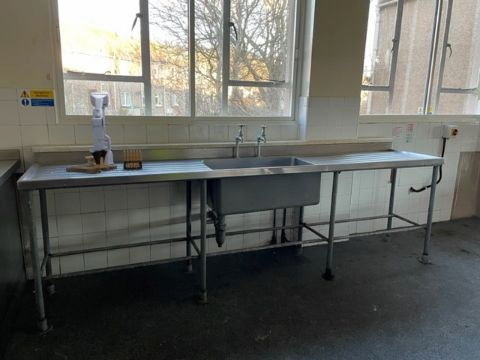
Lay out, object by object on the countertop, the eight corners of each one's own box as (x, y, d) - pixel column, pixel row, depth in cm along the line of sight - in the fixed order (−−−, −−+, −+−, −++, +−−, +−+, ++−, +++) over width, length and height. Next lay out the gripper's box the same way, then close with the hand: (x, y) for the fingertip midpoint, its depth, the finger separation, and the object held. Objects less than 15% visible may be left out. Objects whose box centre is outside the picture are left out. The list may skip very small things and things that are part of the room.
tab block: (99, 167, 202) (98, 156, 201) (103, 167, 201) (103, 157, 200) (95, 168, 199) (95, 157, 198) (100, 168, 198) (99, 157, 197)
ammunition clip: (142, 168, 212) (141, 148, 210) (142, 169, 211) (141, 148, 208) (123, 169, 209) (122, 148, 207) (123, 169, 207) (122, 149, 205)
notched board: (89, 166, 216) (89, 163, 216) (116, 168, 210) (116, 165, 210) (66, 170, 200) (65, 167, 199) (95, 173, 193) (95, 170, 193)
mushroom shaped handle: (90, 164, 212) (90, 155, 211) (99, 164, 210) (98, 156, 209) (83, 165, 206) (82, 157, 205) (91, 166, 204) (91, 157, 203)
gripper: (100, 138, 205) (101, 161, 207) (83, 140, 191) (85, 165, 194) (111, 138, 203) (112, 162, 206) (95, 140, 189) (96, 166, 192)
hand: (100, 163), depth 200 cm, fingers closed on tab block, 3 cm apart
